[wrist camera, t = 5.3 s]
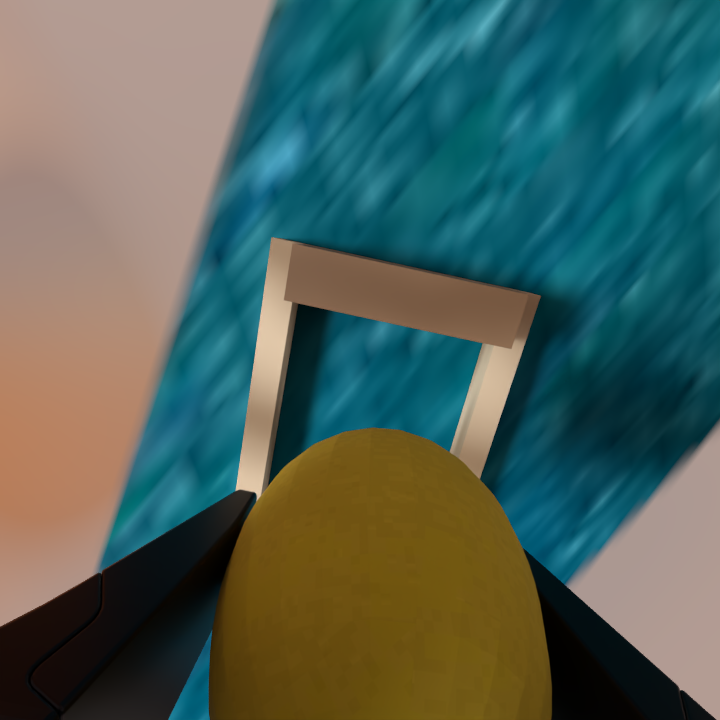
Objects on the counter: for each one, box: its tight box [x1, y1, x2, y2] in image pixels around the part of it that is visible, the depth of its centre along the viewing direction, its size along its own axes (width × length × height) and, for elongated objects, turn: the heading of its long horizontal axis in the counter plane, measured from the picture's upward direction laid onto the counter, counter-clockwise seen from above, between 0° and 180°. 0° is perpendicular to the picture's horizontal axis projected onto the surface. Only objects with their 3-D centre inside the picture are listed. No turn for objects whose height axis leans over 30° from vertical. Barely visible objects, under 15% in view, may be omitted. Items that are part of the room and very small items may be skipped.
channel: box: [236, 237, 541, 502], centre depth 18 cm, size 17×11×4 cm, turn 168°
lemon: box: [209, 428, 552, 720], centre depth 7 cm, size 6×6×8 cm
